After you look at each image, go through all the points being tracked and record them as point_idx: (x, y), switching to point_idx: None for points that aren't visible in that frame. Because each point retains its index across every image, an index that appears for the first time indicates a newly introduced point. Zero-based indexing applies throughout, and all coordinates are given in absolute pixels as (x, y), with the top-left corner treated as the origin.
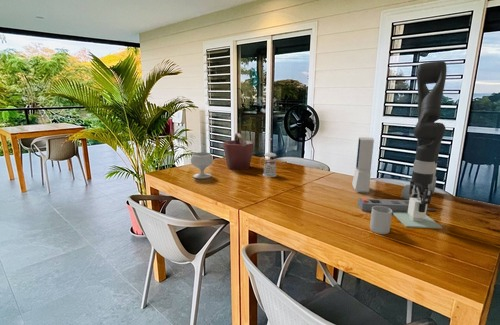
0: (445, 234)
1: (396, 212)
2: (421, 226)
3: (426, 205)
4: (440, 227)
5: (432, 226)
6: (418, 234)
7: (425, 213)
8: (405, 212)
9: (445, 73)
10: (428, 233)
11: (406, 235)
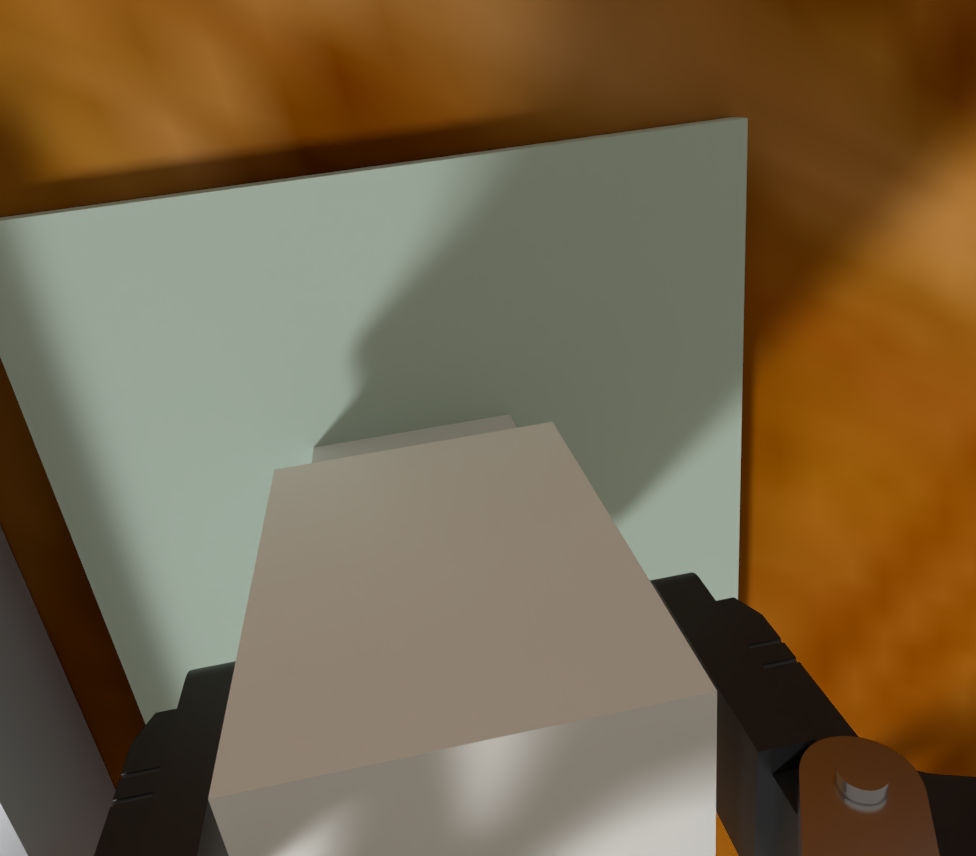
0: (964, 157)
1: None
2: (737, 492)
3: (663, 627)
4: (741, 151)
5: (728, 307)
6: (948, 571)
7: (582, 482)
8: (29, 596)
9: None
10: (922, 431)
11: (969, 706)
